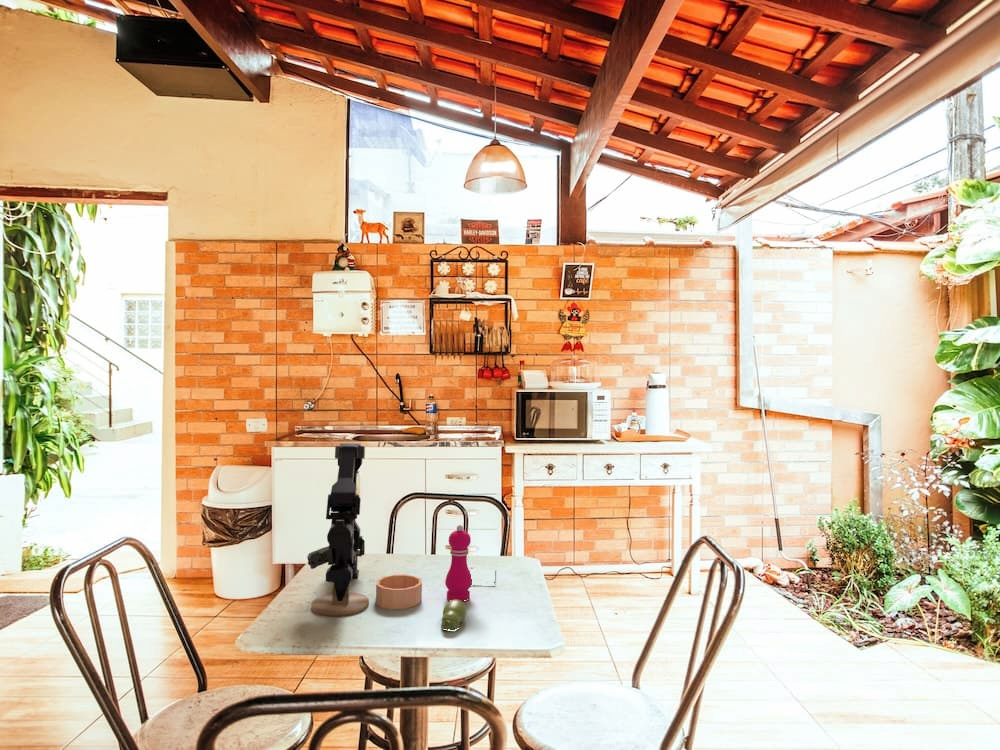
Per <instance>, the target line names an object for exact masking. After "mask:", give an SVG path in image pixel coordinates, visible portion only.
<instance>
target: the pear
mask: <svg viewBox="0 0 1000 750" xmlns="http://www.w3.org/2000/svg"><path fill="white" fill-rule="evenodd" d="M467 613H468V612H467V606H466V604H465V601H464V602H462V601H461V600H458V599H454V600H451V601H449V600H448V602H447V603H446V604H445V606H444V607H443V611H442V618H441V625H440V628H441V630H442V629H447V630H448V629H450V630H455V629H457V628H459V627H460V625H461V622H462V621H464V620H465V618H466V616H467ZM460 628H461V627H460ZM460 628H459V629H460Z"/></svg>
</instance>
